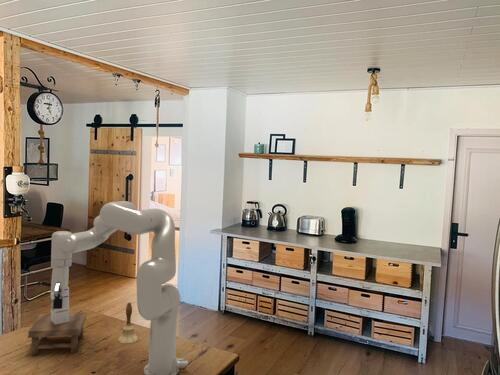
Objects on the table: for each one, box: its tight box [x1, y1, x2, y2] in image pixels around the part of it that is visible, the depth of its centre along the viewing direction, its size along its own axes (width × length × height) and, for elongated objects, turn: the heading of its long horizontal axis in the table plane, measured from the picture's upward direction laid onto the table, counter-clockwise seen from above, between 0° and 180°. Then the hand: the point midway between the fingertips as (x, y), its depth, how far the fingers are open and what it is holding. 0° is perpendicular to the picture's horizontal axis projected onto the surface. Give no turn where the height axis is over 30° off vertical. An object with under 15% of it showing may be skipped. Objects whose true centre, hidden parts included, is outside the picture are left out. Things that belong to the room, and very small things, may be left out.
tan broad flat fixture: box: [27, 312, 87, 357], centre depth 161 cm, size 18×18×10 cm
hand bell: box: [117, 302, 139, 345], centre depth 169 cm, size 8×8×16 cm
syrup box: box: [50, 285, 70, 325], centre depth 160 cm, size 6×6×14 cm
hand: (60, 304), depth 160 cm, fingers open, 8 cm apart
